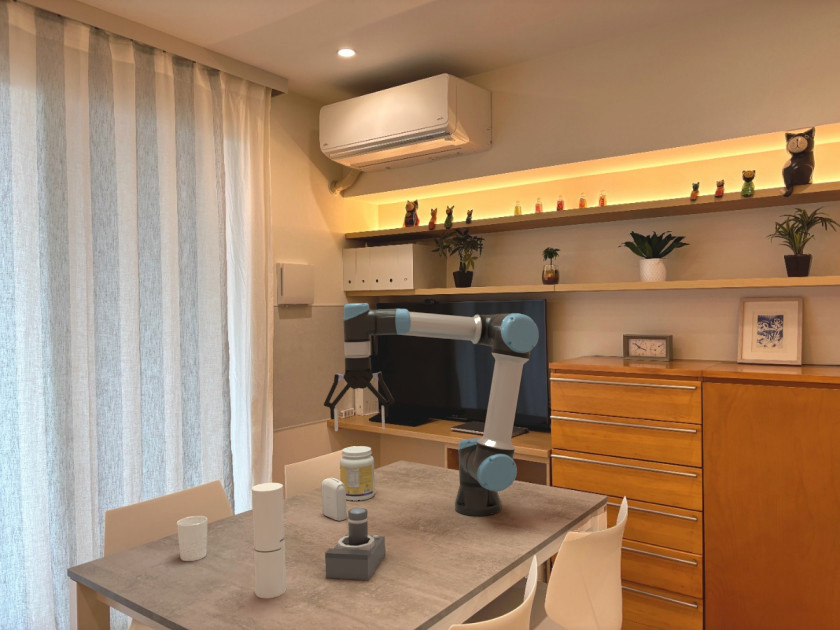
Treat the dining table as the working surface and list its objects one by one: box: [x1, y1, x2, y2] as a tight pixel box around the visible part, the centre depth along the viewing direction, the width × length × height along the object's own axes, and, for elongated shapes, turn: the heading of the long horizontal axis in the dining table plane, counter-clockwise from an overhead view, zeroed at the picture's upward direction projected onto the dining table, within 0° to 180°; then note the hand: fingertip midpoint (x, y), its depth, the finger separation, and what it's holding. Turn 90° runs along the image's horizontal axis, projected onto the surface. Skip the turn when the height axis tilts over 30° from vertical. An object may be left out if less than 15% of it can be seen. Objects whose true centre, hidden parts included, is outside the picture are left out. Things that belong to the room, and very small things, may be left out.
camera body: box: [324, 534, 386, 581], centre depth 162 cm, size 16×11×7 cm
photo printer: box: [321, 477, 348, 522], centre depth 201 cm, size 10×4×12 cm, turn 39°
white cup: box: [176, 515, 208, 562], centre depth 171 cm, size 8×8×10 cm
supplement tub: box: [339, 445, 376, 502], centre depth 222 cm, size 12×12×17 cm
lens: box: [347, 507, 369, 546], centre depth 162 cm, size 5×5×9 cm
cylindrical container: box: [251, 482, 287, 599], centre depth 148 cm, size 7×7×25 cm
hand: (360, 429), depth 181 cm, fingers open, 13 cm apart
